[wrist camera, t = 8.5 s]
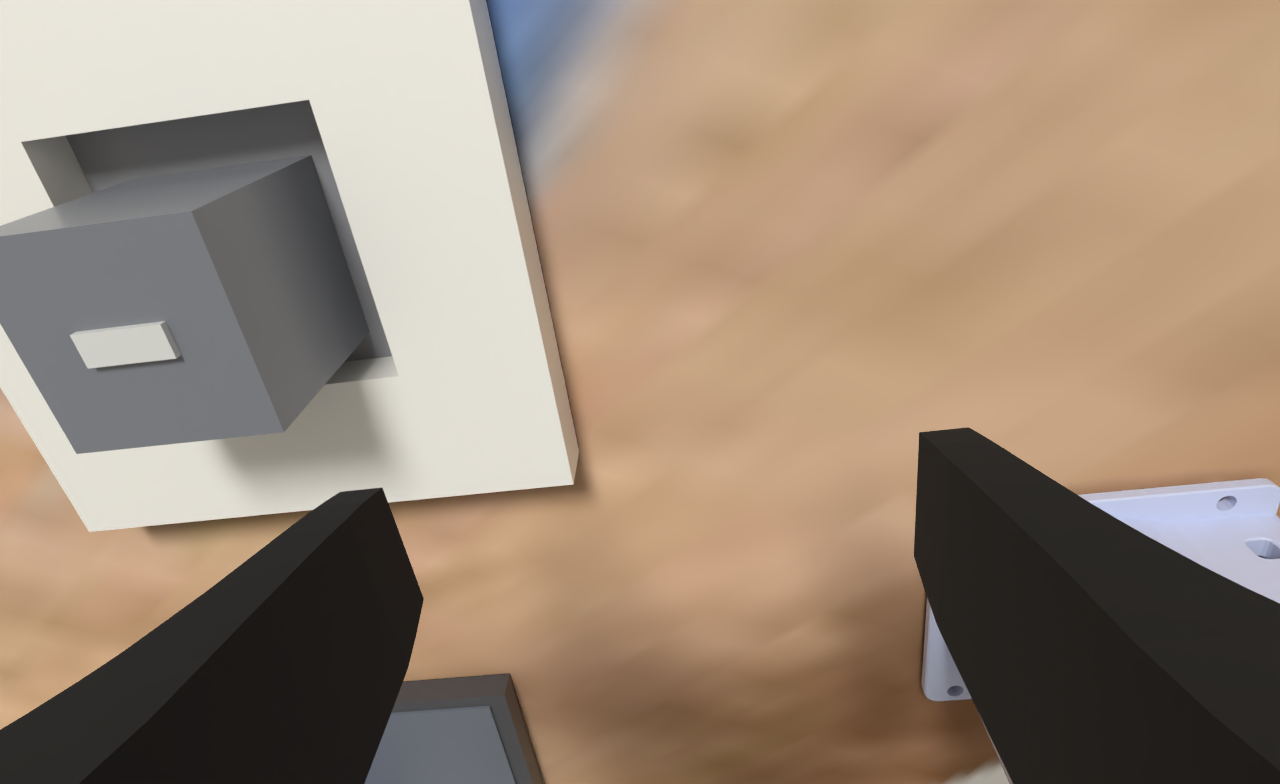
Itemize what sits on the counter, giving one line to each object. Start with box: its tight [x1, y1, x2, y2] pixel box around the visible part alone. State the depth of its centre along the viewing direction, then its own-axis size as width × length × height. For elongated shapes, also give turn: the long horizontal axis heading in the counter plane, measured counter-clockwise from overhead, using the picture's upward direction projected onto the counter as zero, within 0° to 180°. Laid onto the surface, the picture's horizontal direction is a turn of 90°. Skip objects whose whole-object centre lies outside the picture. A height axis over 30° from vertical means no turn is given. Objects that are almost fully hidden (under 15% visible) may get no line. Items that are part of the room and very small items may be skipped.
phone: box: [364, 674, 544, 784], centre depth 27 cm, size 12×6×1 cm, turn 98°
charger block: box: [0, 155, 370, 454], centre depth 16 cm, size 4×4×5 cm
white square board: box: [0, 0, 579, 532], centre depth 18 cm, size 14×14×2 cm
